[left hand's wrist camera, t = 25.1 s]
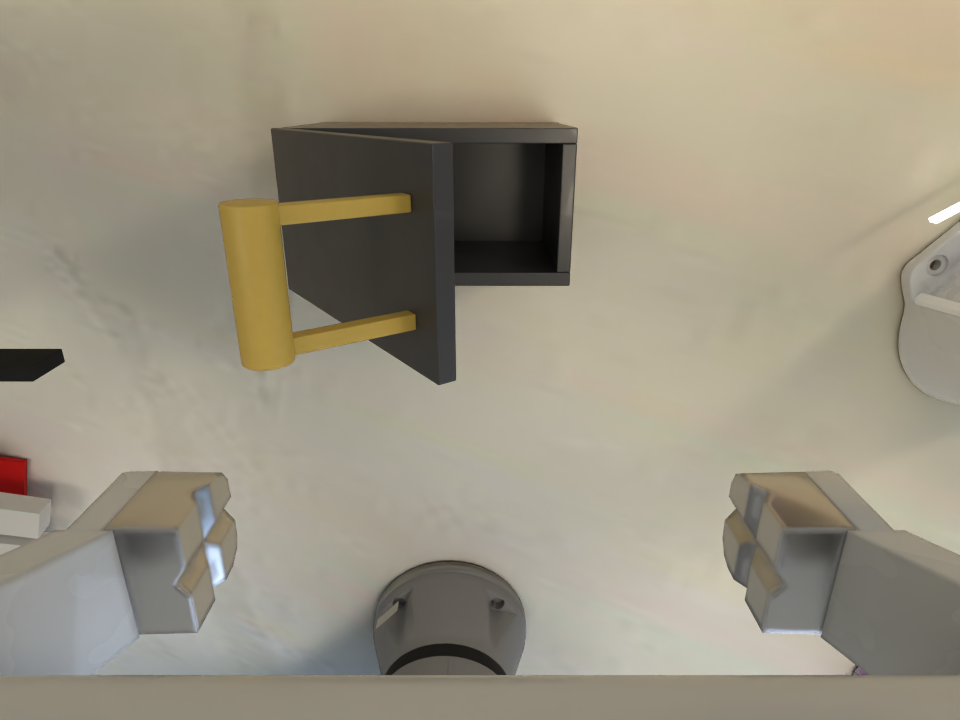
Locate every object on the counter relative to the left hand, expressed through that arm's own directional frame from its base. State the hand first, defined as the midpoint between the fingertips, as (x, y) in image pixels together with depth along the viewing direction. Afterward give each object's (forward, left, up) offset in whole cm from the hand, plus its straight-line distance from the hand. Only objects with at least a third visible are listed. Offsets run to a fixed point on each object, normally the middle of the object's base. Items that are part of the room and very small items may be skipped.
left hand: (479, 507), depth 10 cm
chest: (+2, -2, -42) cm, 43 cm away
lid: (+3, -5, -24) cm, 24 cm away
